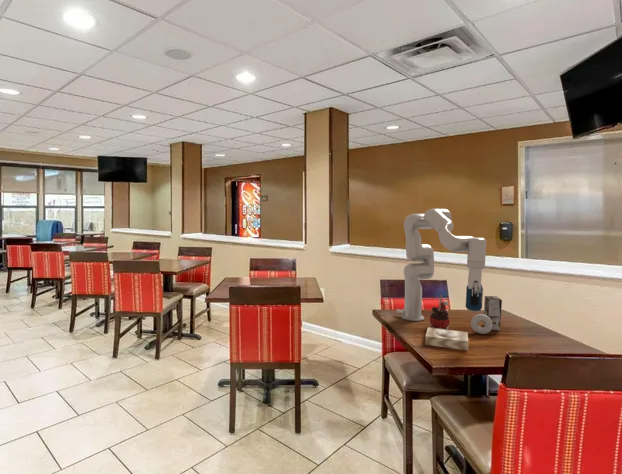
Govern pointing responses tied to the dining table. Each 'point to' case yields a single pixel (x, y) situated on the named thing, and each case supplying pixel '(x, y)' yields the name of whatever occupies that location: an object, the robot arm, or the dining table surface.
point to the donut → (477, 328)
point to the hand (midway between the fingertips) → (473, 302)
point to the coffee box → (493, 310)
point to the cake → (440, 316)
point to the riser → (447, 338)
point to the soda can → (468, 300)
